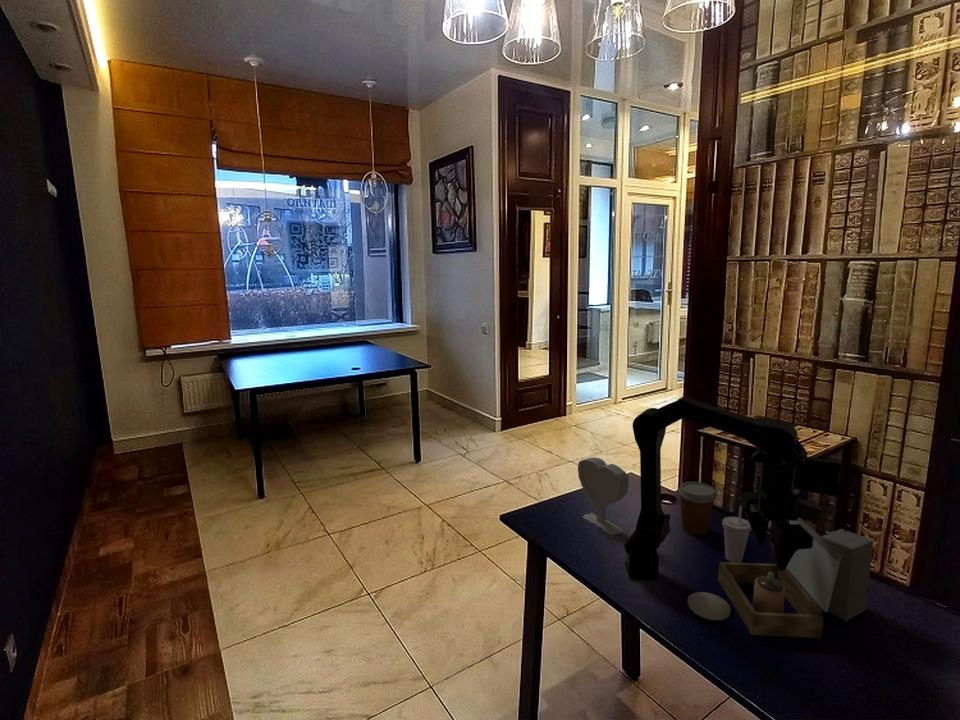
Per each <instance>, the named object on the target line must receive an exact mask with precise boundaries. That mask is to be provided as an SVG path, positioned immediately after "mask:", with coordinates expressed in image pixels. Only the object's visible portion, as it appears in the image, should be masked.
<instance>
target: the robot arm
mask: <svg viewBox="0 0 960 720" xmlns="http://www.w3.org/2000/svg"><path fill="white" fill-rule="evenodd" d="M682 419H684V420H688V421H691V422H694V423H697V424H699V425H702V426H705V427H709V428H711V429H713V430H714V429H715V430H717V431H721V432H724V433H727V434H729V435H733V436H736V437H739V438H741V439H743V440H745V441H747V442H748V443H750V444H751V445H752V446H754V447H755V448H757V449H758V450H757V451H755V452H753V453H752V455H751V457H750V459H749V460H750V461H751V462H753V463H759V464H760V474H759V475H760V477H759V484H755V488H754V489H755V491H744V492H743V493H742V494H740V495H739V505H740V506H742V512H743V513H744V514H745V517H746V520H747V521H748V522H749V524H750V527H751V531H752V533H753V536H754V538H755V541H756V543H757V545H758V546H764V545H765V543H766V537H767V532H768V527H769V525H770V524H769V523H770V522H771V523H772V524H773V525H772V526H771V527H770V528H769V536H770V537H769V538H768V540H769V544H770V547H771V551H772V554H773V557H774V561H775V564H777V567H778V569H779V570H785V569H787V568H786V567H787V565H788V563H789V562H790V560H791V558H792V556H793V555H794V553H795V552H796V551H797V550H799V549H811V548H812V547H813V539H814V538H813V537H812V536H811V535H810V534H809V533H808V532H807V531H806V530H805V529H804V528H803V527H802V526H801V525H800V524H789V522H788V521H790V520H791V521H798V517H799V518H801V519H802V520H803V521H807V522H810V523H811V524H814V525H816V526H817V525H818V524H819V522H820V520H821V518H822V516H823V514H824V513H825V510H824V508H822V507H821V506H820V505H818V503H816V502H814V501H813V500H812V499H810V498H808V494H807V493H813V494H817V495H823V496H827V497H832V498H839V493H840V492H839V491H840V481H841V473H840V470H841V469H840V468H841V461H840V460H839V459H833V458H832V459H830V458H829V459H825V458H818V457H812V456H808V455H809V454H808V453H809V452H808V451H807V450H806V448H805V447H804V446H803V444H802V443H801V441H800V440H799V439H798V438H799V434H798V431H797V429H796V427H795V426H794V425H793V424H792V423H790V422H788V421H787V420H781V419H773V418H769V417H767V418H766V417H752V416H747V415H743V414H741V413H736V412H733V411H731V410H727V409H724V408H721V407H717V406H714V405H711V404H708V403H706V402H703V401H698V400H696V399H693V398H691V397H689V396H681V397H679V398H678V399H677V400H674V401H672V402H669V403H667V404H665V405H663V406H661V407H659V408H657V407H649V408H646V409H645V410H644V411H643V412H641V413H639V414H638V415H637V416H636V417H635V418H634V419H633V422H632V431H633V435H634V441H635V444H636V445H637V447H638V449H639V462H640V463H639V464H640V465H639V466H640V467H639V468H640V471H639V472H640V473H639V474H640V476H639V477H640V512H639V515H638V519H637V522H636V525H635V530H634V531H633V532H632V534H631V535H630V537H629V538H628V539H627V541H626V542H624V544H623V546H624V550H625V552H626V561H624V566H625V569H626V572H627V574H628V575H627V576H628V578H629V579H631V580H645V581H646V580H649V581H657V580H658V579H659V576H658V575H657V574H658V573H659V570H660V569H659V567H660V556H659V554H658V551H657V549H659V547H660V546H661V544H662V543H663V542H664V541H665V539H666V537H667V536H668V535H669V533H670V532H671V530H672V528H671V526H670V521H671V514H670V513H669V514H668V513H664V511H663V508H662V469H661V468H662V465H661V460H662V459H661V454H662V453H661V448H662V446H663V442H664V438H665V436H666V430H667V428H668V427H669V426H671V425H673V424H675V423H677V422H679V421H680V420H682ZM795 470H797V478H796V479H797V480H796V485H797V486H799V488H794V477H795Z"/></svg>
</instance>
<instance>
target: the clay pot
mask: <svg viewBox="0 0 960 720" xmlns="http://www.w3.org/2000/svg"><path fill="white" fill-rule="evenodd" d="M785 591H786V588H785V586H784V585H783V584H782V583H781V582H780V581H779V580H777V579H775V578H774V574H773V573H772V572H769V573H768V576H761V577H758V578H756V579H755V583H753V596H752V603H751V605H752V607H753V608H754V610H755V611H756V612H765V613H784V606H785V599H786V598H785Z"/></svg>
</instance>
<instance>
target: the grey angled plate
mask: <svg viewBox="0 0 960 720" xmlns="http://www.w3.org/2000/svg"><path fill="white" fill-rule="evenodd" d="M788 523H789V524H800V525H801V526H802V527H803V528H804V529H805V530H806V531H807V532H808V533H809V534H810V535H811V536H812V537H813V538H814V539H813V547H812V548H811V549H799V550H797V551H796V552H795V553H794V555H793V556H792V558H791V560H790V562H789V563H788V565H787V567H786V569H787V570H788V571H789V572H790V573H791V575H792V576H793V577H794V578H795V579H796V580H797V582H798V583H799V584H800V585H801V586H802V587H803V589H804V590H806V591H807V592H808V593H809V595H810V596H811V597H812V598H813V600H814V601H815V602H816V603H817V604H818V605H819V606H820V607H821V610H822V612H825V613H829V612H828V608H829V604H830V600H831V596H832V592H833V588H834V584H835V580H836V576H837V572H838V568H839V564H840V561H841V558H842V556H841V555H840V554H839V553H838V552H837V551H836V550H835V549H834V548H833V547H831V546H830V545H829V544H828V543H827V542H826V541H825V540H824V539H823V538H822V537H821V536H822V535H819V533H817V531H815V529H813V528H812V527H811V526H810V525H809V524H808V523H807V522H806V521H805V520H804V519H801V518H799V517H798V521H791V520H789V522H788Z"/></svg>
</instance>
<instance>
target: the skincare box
mask: <svg viewBox="0 0 960 720" xmlns="http://www.w3.org/2000/svg"><path fill="white" fill-rule="evenodd" d="M820 536H821V537H822V538H823V539H824V540H825V541H826V542H827V543H828V544H829V545H830V546H831V547H833V548H834V549H835V550H836V551H837V552H838V553H839V554H840V555H841V556H842V558H841V561H840V564H839V568H838V572H837V576H836V580H835V584H834V588H833V592H832V596H831V600H830V604H829V608H828V612H827V613H830V614H832V615H833V616H835V617H837V618H839V619H841V620H842V621H845V622H848V621H849V620H850V619H852V618H855V617H857V616H859V615H861V614H862V613H863V612H865V611H866V610H867V607H868V596H869V587H870V577H871V568H872V558H873V557H872V556H873V546H874V540H873V539H870V538H868V537H865V536H862V535H859V534H858V533H855V532H852V531H850V530H846V529H843V528H841V529H838V530H835V531H829V532H828V533H827V534H824V535H820ZM815 603H816V602H815ZM816 604H817V603H816ZM817 605H818V604H817ZM818 606H819V605H818ZM819 607H820V606H819ZM820 608H821V607H820ZM821 609H822V608H821Z"/></svg>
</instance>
